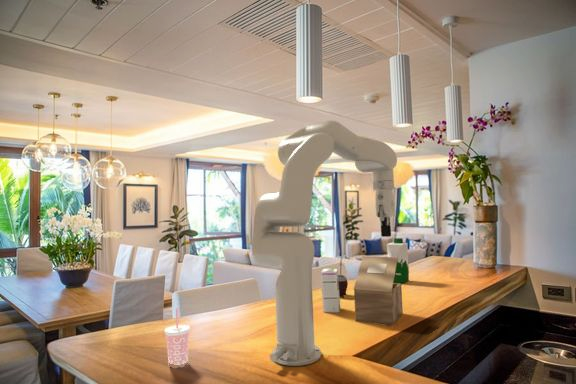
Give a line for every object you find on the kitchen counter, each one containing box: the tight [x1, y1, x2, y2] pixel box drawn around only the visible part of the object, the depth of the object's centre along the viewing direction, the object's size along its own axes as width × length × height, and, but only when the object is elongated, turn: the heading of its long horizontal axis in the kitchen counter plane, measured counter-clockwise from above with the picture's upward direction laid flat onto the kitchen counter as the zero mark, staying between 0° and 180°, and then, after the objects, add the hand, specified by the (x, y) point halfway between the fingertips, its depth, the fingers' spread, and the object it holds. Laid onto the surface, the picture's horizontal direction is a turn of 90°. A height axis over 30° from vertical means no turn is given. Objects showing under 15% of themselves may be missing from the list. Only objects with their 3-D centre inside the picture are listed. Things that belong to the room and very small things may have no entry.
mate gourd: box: [338, 256, 349, 298], centre depth 157 cm, size 8×8×15 cm
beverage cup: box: [164, 307, 191, 365], centre depth 95 cm, size 6×6×14 cm
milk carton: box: [386, 237, 410, 285], centre depth 178 cm, size 9×9×20 cm
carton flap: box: [353, 256, 398, 293], centre depth 124 cm, size 14×12×1 cm
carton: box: [353, 283, 404, 326], centre depth 126 cm, size 14×12×10 cm
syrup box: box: [320, 268, 341, 313], centre depth 136 cm, size 6×6×14 cm
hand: (386, 236), depth 138 cm, fingers closed
